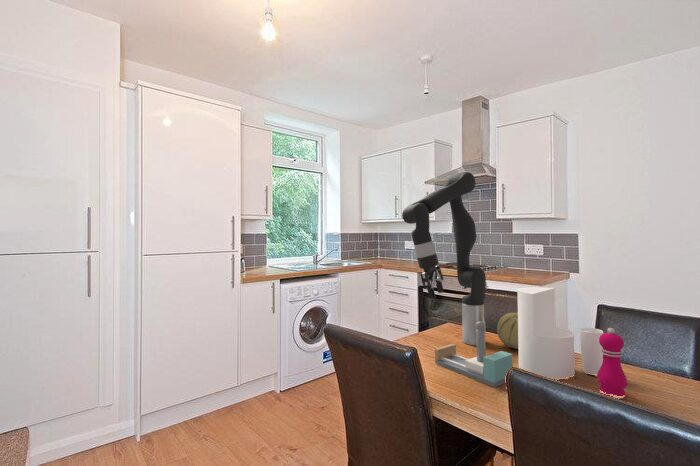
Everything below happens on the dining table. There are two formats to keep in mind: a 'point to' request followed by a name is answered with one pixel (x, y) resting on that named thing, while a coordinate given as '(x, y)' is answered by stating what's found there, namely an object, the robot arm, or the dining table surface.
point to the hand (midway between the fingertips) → (437, 295)
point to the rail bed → (492, 375)
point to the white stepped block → (543, 335)
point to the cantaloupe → (508, 330)
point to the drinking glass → (591, 349)
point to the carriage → (478, 349)
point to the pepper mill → (611, 364)
